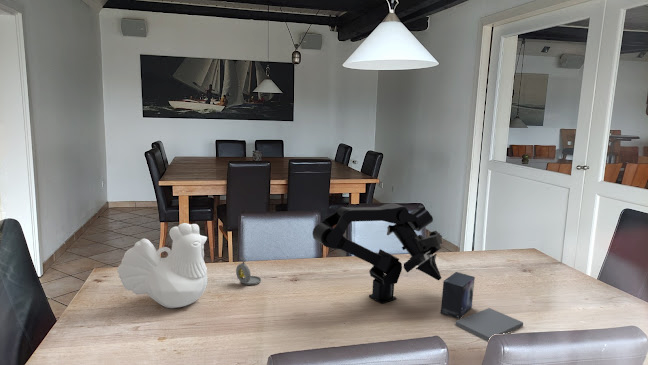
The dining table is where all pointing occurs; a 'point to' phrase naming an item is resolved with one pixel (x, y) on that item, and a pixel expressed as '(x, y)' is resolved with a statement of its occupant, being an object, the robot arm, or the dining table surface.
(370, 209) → the robot arm
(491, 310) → the mat
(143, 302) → the dining table surface
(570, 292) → the dining table surface
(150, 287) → the decorative rooster
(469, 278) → the small box
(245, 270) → the pocket watch
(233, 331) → the dining table surface
